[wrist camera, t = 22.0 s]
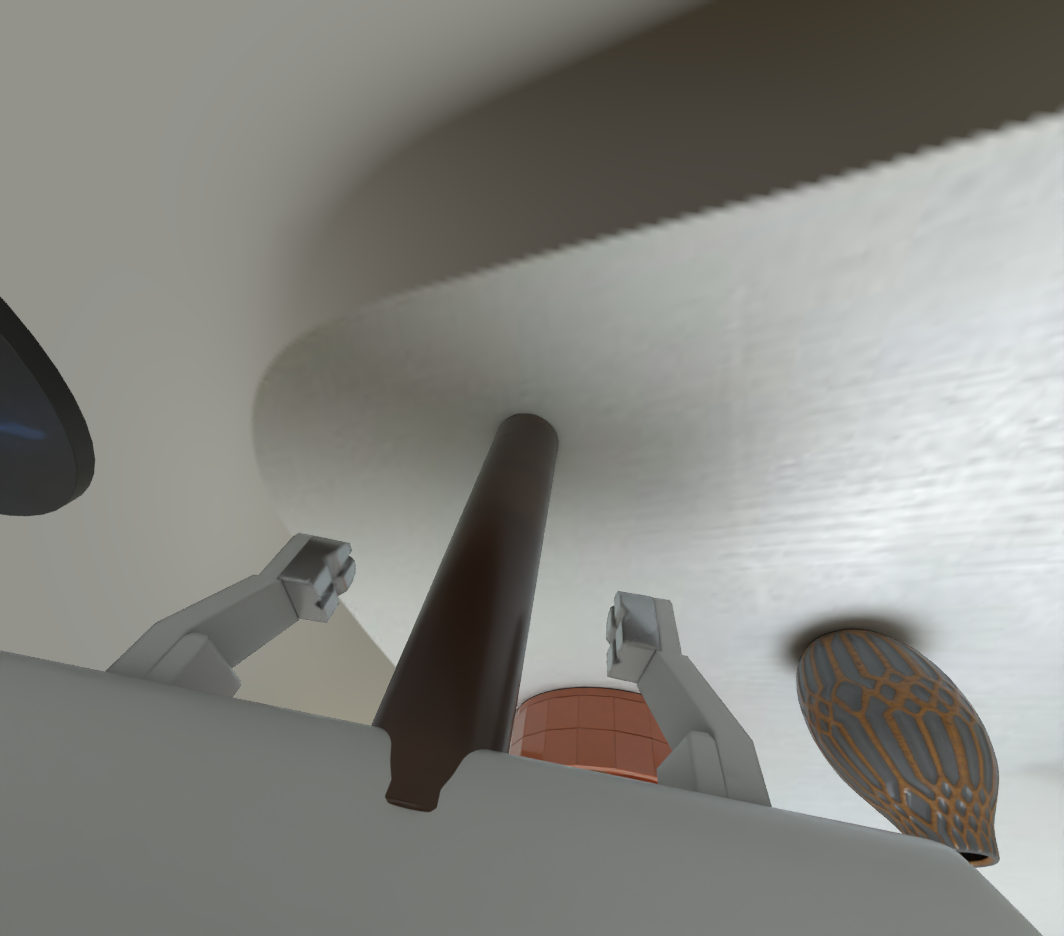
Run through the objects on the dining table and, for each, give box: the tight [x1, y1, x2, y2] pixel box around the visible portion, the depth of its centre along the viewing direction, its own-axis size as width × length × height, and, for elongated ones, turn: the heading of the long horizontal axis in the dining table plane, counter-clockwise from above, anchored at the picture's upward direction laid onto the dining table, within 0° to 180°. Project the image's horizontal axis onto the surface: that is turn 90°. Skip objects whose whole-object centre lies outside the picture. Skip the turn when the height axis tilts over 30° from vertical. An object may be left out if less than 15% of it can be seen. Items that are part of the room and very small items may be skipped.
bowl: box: [509, 688, 672, 784], centre depth 31 cm, size 16×16×5 cm
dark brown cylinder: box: [371, 414, 558, 812], centre depth 12 cm, size 3×3×13 cm
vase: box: [796, 630, 1000, 868], centre depth 19 cm, size 7×7×9 cm
